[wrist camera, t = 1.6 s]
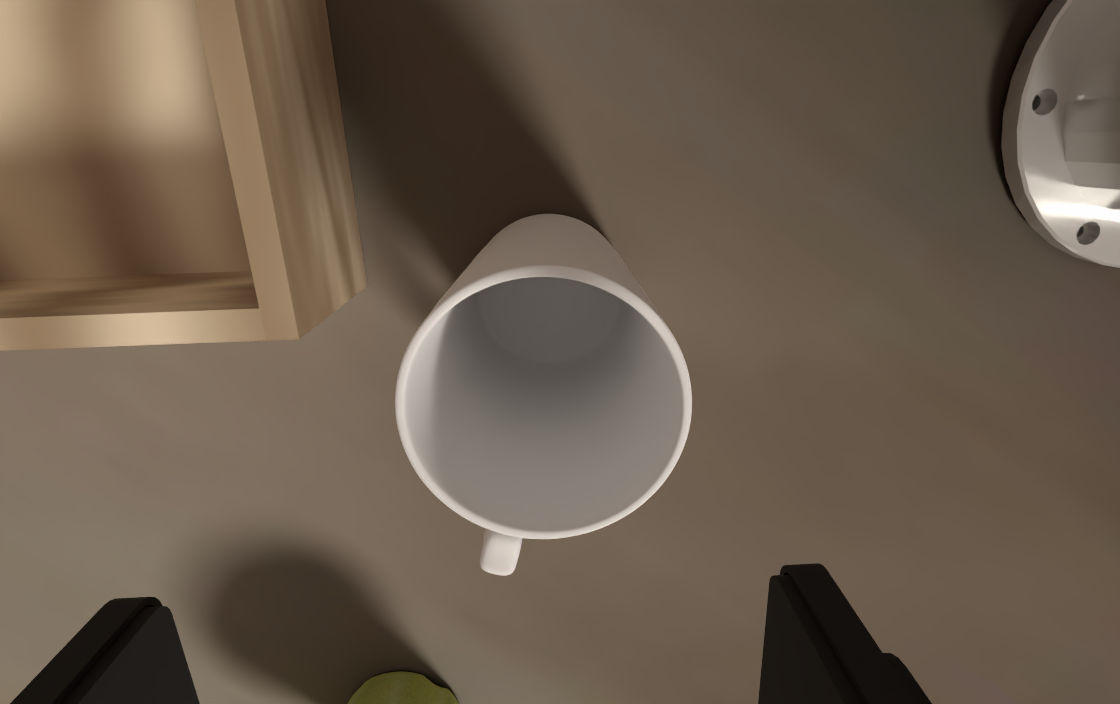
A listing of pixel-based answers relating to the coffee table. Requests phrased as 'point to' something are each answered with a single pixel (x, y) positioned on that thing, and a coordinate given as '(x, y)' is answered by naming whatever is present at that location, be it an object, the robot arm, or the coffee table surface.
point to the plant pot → (401, 690)
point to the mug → (543, 389)
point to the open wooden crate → (171, 173)
